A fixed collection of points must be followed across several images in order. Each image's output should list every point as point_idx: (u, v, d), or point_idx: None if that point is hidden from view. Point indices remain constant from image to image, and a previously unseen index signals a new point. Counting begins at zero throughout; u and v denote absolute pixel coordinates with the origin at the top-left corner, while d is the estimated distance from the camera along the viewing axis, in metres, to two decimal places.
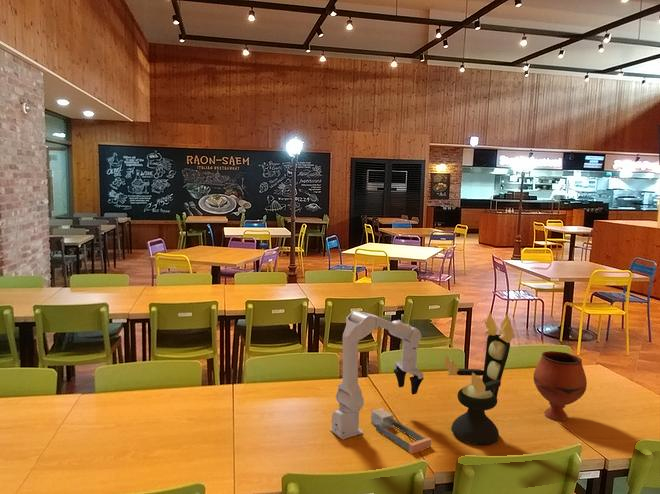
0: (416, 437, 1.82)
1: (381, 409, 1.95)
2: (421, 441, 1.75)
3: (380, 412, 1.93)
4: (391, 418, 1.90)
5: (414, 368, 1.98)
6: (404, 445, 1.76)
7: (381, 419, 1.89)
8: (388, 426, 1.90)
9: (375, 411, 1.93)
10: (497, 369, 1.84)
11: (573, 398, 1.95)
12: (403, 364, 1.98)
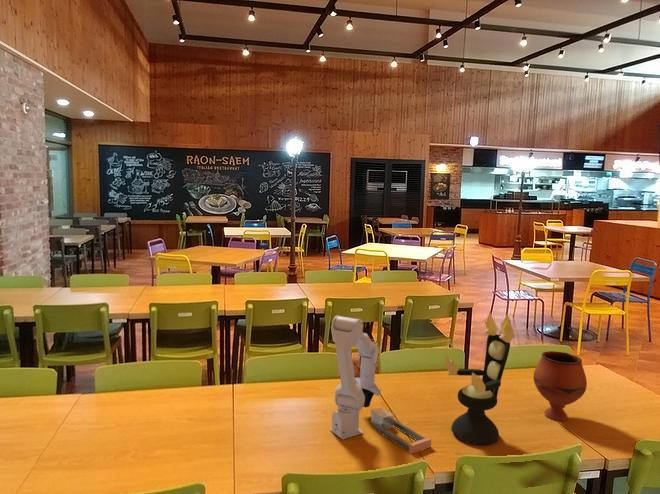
0: (416, 437, 1.82)
1: (381, 409, 1.95)
2: (421, 441, 1.75)
3: (380, 412, 1.93)
4: (391, 418, 1.90)
5: (372, 384, 1.97)
6: (404, 445, 1.76)
7: (381, 419, 1.89)
8: (388, 426, 1.90)
9: (375, 411, 1.93)
10: (497, 369, 1.84)
11: (573, 398, 1.95)
12: (361, 380, 1.98)
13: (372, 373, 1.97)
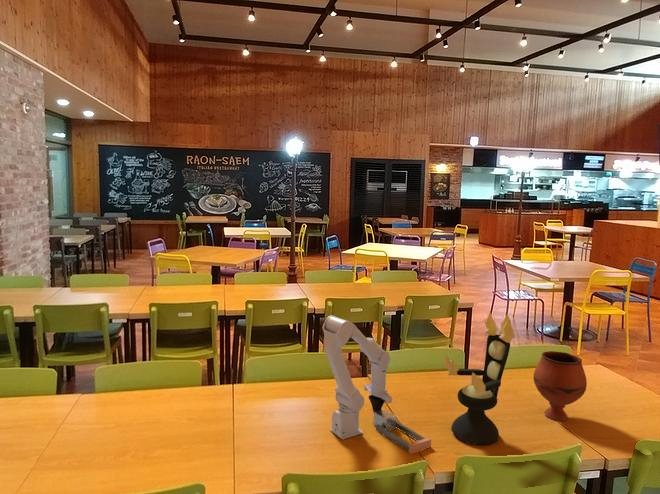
0: (416, 437, 1.82)
1: (383, 410, 1.94)
2: (421, 441, 1.75)
3: (383, 413, 1.92)
4: (394, 419, 1.89)
5: (383, 392, 1.92)
6: (404, 445, 1.76)
7: (384, 420, 1.88)
8: (391, 427, 1.89)
9: (377, 412, 1.92)
10: (497, 369, 1.84)
11: (573, 398, 1.95)
12: (372, 388, 1.92)
13: (380, 380, 1.91)
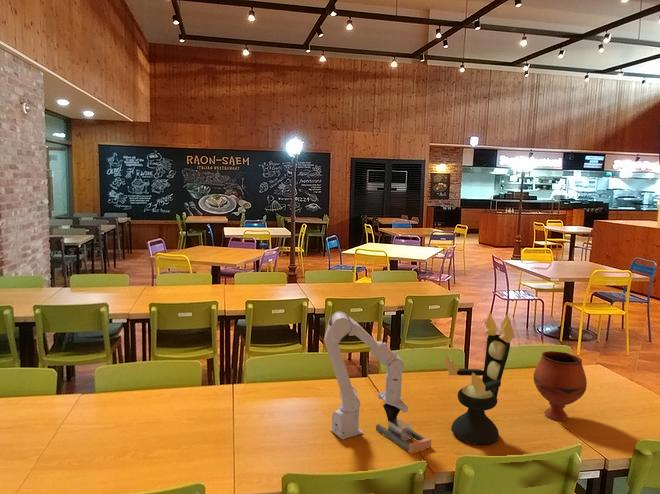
0: (416, 437, 1.82)
1: (398, 419, 1.87)
2: (421, 441, 1.75)
3: (398, 422, 1.84)
4: (410, 429, 1.82)
5: (398, 400, 1.85)
6: (404, 445, 1.76)
7: (399, 430, 1.80)
8: (407, 437, 1.82)
9: (392, 421, 1.85)
10: (497, 369, 1.84)
11: (573, 398, 1.95)
12: (387, 396, 1.85)
13: (391, 388, 1.84)
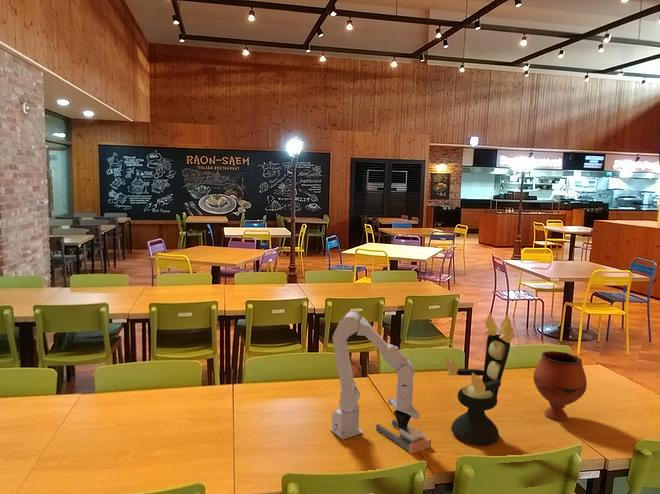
0: None
1: (410, 426, 1.82)
2: (421, 441, 1.75)
3: (409, 429, 1.79)
4: (422, 436, 1.77)
5: (409, 407, 1.80)
6: (404, 445, 1.76)
7: (411, 438, 1.75)
8: None
9: (404, 429, 1.80)
10: (497, 369, 1.84)
11: (573, 398, 1.95)
12: (397, 402, 1.80)
13: (400, 394, 1.79)
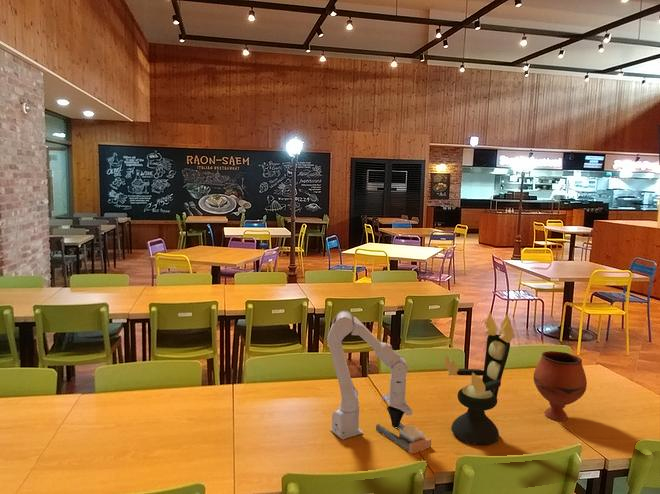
0: None
1: (410, 427, 1.82)
2: (421, 441, 1.75)
3: (409, 430, 1.79)
4: (422, 437, 1.77)
5: (402, 403, 1.83)
6: (404, 445, 1.76)
7: (411, 438, 1.75)
8: None
9: (404, 429, 1.80)
10: (497, 369, 1.84)
11: (573, 398, 1.95)
12: (390, 399, 1.83)
13: (394, 391, 1.82)
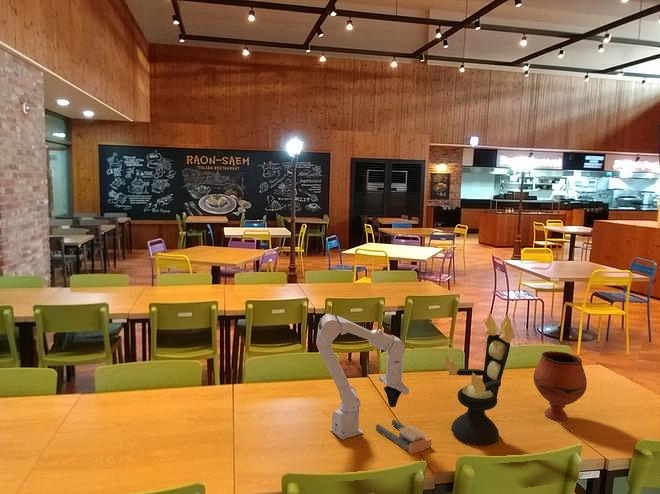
0: None
1: (410, 427, 1.82)
2: (421, 441, 1.75)
3: (409, 430, 1.79)
4: (422, 436, 1.77)
5: (399, 383, 1.84)
6: (404, 445, 1.76)
7: (411, 438, 1.75)
8: None
9: (404, 429, 1.80)
10: (497, 369, 1.84)
11: (573, 398, 1.95)
12: (387, 378, 1.85)
13: (392, 371, 1.83)
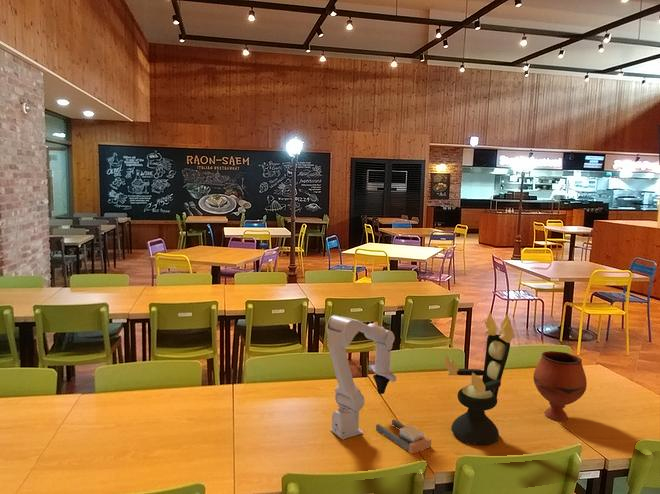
0: None
1: (409, 427, 1.82)
2: (421, 441, 1.75)
3: (409, 430, 1.79)
4: (422, 436, 1.77)
5: (387, 371, 1.95)
6: (404, 445, 1.76)
7: (412, 438, 1.75)
8: None
9: (404, 429, 1.80)
10: (497, 369, 1.84)
11: (573, 398, 1.95)
12: (376, 367, 1.96)
13: (386, 360, 1.94)
